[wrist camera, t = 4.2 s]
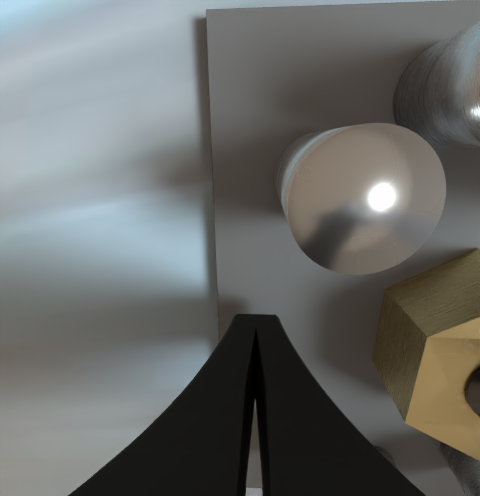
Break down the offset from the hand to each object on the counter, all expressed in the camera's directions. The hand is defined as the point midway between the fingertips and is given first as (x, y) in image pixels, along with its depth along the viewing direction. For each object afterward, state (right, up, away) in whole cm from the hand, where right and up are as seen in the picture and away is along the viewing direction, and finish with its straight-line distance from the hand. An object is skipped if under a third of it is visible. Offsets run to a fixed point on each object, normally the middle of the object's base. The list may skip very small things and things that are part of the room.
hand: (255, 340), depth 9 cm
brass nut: (+7, 0, +1) cm, 7 cm away
